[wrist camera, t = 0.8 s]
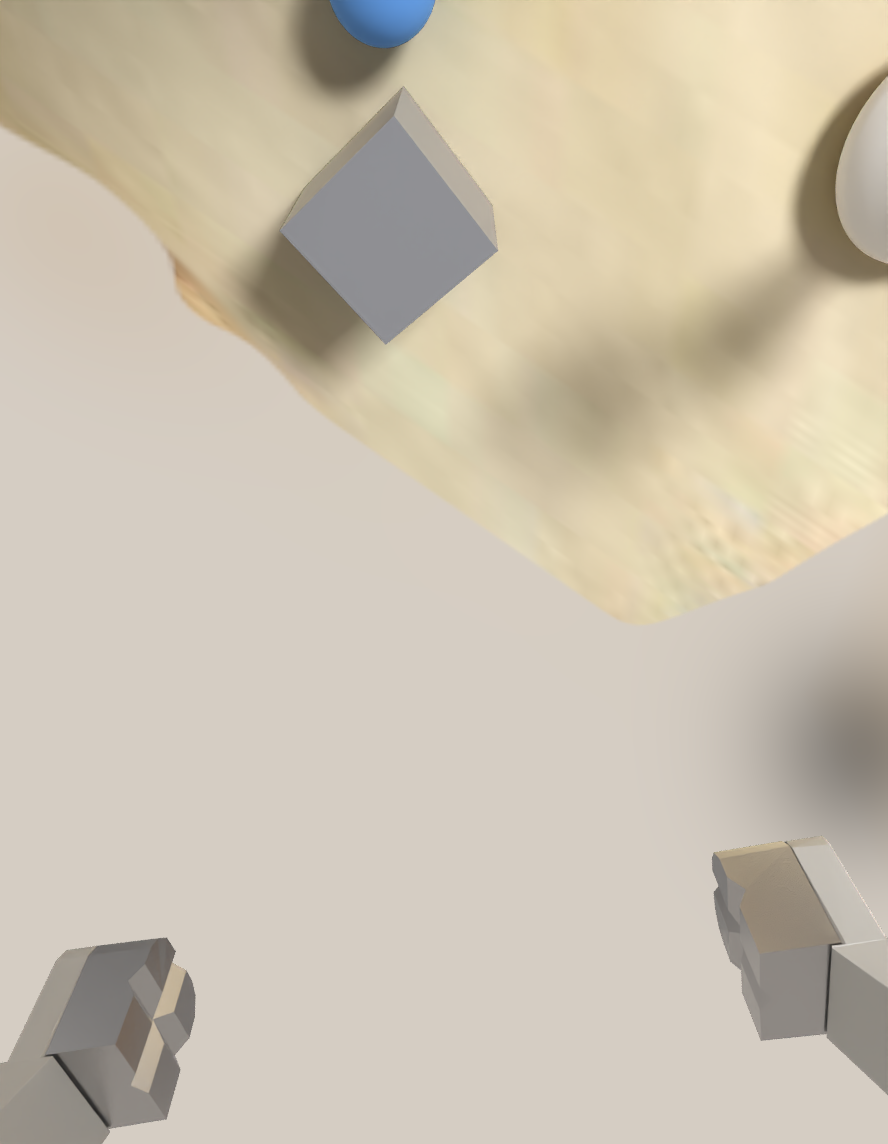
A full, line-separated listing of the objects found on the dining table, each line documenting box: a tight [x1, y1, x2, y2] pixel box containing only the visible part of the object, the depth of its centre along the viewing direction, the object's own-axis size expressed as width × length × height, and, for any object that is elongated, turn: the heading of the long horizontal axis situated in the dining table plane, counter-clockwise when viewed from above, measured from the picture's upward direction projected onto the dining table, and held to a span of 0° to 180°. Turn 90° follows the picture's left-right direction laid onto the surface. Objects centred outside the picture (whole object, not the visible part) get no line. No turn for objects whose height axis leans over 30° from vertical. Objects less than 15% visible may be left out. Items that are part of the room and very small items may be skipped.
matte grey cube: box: [280, 86, 498, 344], centre depth 39 cm, size 7×7×8 cm
